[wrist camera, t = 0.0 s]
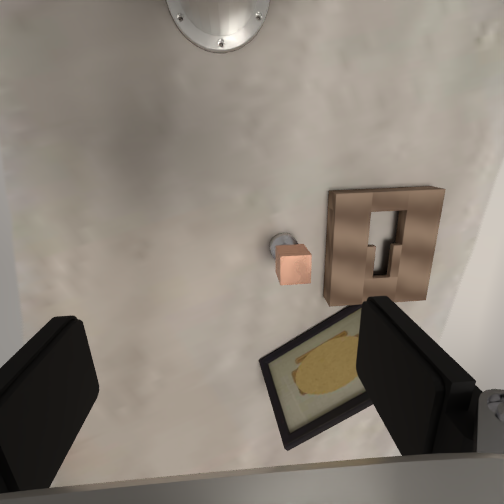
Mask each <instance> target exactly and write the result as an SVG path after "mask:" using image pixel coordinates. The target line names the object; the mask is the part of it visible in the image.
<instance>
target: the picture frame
mask: <svg viewBox="0 0 504 504" xmlns="http://www.w3.org/2000/svg"><path fill="white" fill-rule="evenodd" d="M361 308H362V304H359V305H351V306H349V307H347V308H346V309H344V310H342V311H341V312H339V313H337V314H336V315H334V316H332V317H331V318H329V319H327V320H326V321H324V322H322V323H321V324H319V325H318V326H316V327H314V328H313V329H311V330H309V331H308V332H306V333H304V334H303V335H301V336H299V337H298V338H296V339H294V340H293V341H291V342H289V343H288V344H286V345H284V346H283V347H281V348H279V349H278V350H276V351H274V352H273V353H271V354H269V355H268V356H266V357H264V358H263V359H261V360H259V363H260V366H261V370H262V373H263V376H264V380H265V383H266V387H267V390H268V394H269V397H270V400H271V404H272V407H273V411H274V414H275V418H276V421H277V424H278V428H279V431H280V435H281V438H282V441H283V445H284V448H285V449H286V450H287V451H288V450H290V449H292V448H294V447H296V446H298V445H299V444H301V443H303V442H305V441H307V440H309V439H310V438H312V437H314V436H316V435H318V434H320V433H321V432H323V431H325V430H327V429H329V428H331V427H332V426H334V425H336V424H338V423H340V422H342V421H343V420H345V419H347V418H349V417H351V416H353V415H354V414H356V413H358V412H360V411H362V410H364V409H365V408H367V407H369V406H371V405H373V402H372V401H371V399H370V397H369V395H368V393H367V392H366V390H365V388H364V386H363V384H362V383H361V381H360V379H359V377H358V375H357V371H356V358H357V348H358V338H359V328H360V318H361Z"/></svg>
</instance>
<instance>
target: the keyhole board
mask: <svg viewBox="0 0 504 504" xmlns="http://www.w3.org/2000/svg"><path fill="white" fill-rule="evenodd" d="M444 195H445V189H442V188H437V187H432V186H421V187H399V188H376V189H354V190H332V191H329V195H328V215H327V235H326V255H325V274H324V294H323V296H324V298H325V300H326V301H327V303H328V304H329V306H344V305H359V304H362V303H363V302H364V301H367V298H368V297H371V296H387V297H389V298H390V299H391V300H392V301H393V302H405V301H420V300H426V295H427V290H428V284H429V279H430V273H431V267H432V262H433V256H434V251H435V245H436V239H437V234H438V228H439V223H440V217H441V212H442V206H443V200H444ZM378 211H399V215H398V222H397V230H396V238H395V243H392V244H390V252H389V260H388V268H387V275H377V276H373V269H374V260H375V251H376V246H374V245H368V238H369V228H370V218H371V212H378Z"/></svg>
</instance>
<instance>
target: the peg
mask: <svg viewBox="0 0 504 504" xmlns="http://www.w3.org/2000/svg"><path fill="white" fill-rule="evenodd" d="M269 247H270V251H271V254H272V256H273V258H274V259H275V260H276V274H277V277H278V280H279V282H280V285H292V284H308V283H311V258H312V255H311V253H310V252H309V251H308V249H307V248H306V247H305V245H304V244H298V243H297V241H296V240H295V238H294V237H293V236H292V235H290V234H288V233H279V234H277V235H275V236H274V237H273V238H272V240H271V242H270V246H269Z"/></svg>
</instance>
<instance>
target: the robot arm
mask: <svg viewBox="0 0 504 504" xmlns="http://www.w3.org/2000/svg"><path fill="white" fill-rule="evenodd" d="M166 1H167V5H168V7H169V10H170V13H171V15H172V17H173V20H174V22H175V23H176V25H177V26H178V28H179V29H180V31H181V32H182V33H183V34H184V35H185V36H186V38H187V39H188V40H190V41H191V42H192V43H194V44H195V45H196V46H198V47H200V48H202V49H204V50H207V51H211V52H216V53H226V52H231V51H235V50H237V49H239V48H242V47H243V46H245V45H246V44H247V43H249V42H250V41H251V40H252V39H253V38H254V37H255V36H256V35H257V33H258V31H259V30H260V28H261V27H262V25H263V23H264V20H265V18H266V15H267V11H268V8H269V2H270V0H166ZM257 17H259V18H260V20H259V21H258V20H256V18H257ZM180 18H182V19H183V21H181V22H180V21H179V19H180ZM221 43H222V44H223V47H220V46H219V45H220V44H221ZM356 371H357V375H358V377H359V379H360V381H361V383H362V384H363V386H364V388H365V390H366V392H367V393H368V395H369V397H370V399H371V401H372V402H373V404H374V406H375V408H376V410H377V412H378V413H379V415H380V417H381V419H382V421H383V422H384V424H385V426H386V428H387V430H388V431H389V433H390V435H391V437H392V439H393V440H394V442H395V444H396V446H397V448H398V449H399V451H400V453H401V455H402V456H393V457H379V458H367V459H355V460H344V461H332V462H321V463H309V464H297V465H286V466H274V467H264V468H253V469H242V470H231V471H220V472H209V473H199V474H188V475H177V476H167V477H156V478H145V479H135V480H125V481H115V482H105V483H95V484H85V485H75V486H65V487H55V488H49V487H50V485H51V483H52V481H53V480H54V478H55V476H56V474H57V472H58V470H59V468H60V466H61V465H62V463H63V461H64V459H65V457H66V455H67V453H68V451H69V449H70V448H71V446H72V444H73V442H74V440H75V438H76V436H77V434H78V433H79V431H80V429H81V427H82V425H83V423H84V421H85V419H86V417H87V416H88V414H89V412H90V410H91V408H92V406H93V404H94V402H95V401H96V399H97V396H98V393H99V383H98V379H97V375H96V371H95V367H94V364H93V360H92V356H91V352H90V348H89V344H88V340H87V336H86V333H85V329H84V325H83V322H82V321H81V320H78V319H77V318H76V317H75V316H59V317H54V318H52V319H51V320H50V321H49V322H48V323H47V324H46V325H45V326H44V327H43V328H42V329H41V330H40V331H38V332H37V333H36V334H35V335H34V336H33V337H32V338H31V339H30V340H29V341H28V342H27V343H26V344H25V345H24V346H23V347H22V348H21V349H20V350H19V351H18V352H17V353H16V354H15V355H14V356H13V357H11V358H10V359H9V361H7V362H6V363H5V364H4V365H3V366H2V367H1V368H0V504H504V390H501V389H491V390H486V391H484V392H482V391H481V390H480V389H479V388H478V387H477V386H476V385H475V383H476V381H475V379H473V378H472V377H471V376H470V375H469V374H468V373H467V372H466V371H465V370H464V369H463V368H462V367H461V366H460V365H459V364H458V363H457V362H456V361H455V360H454V359H453V358H452V357H450V356H449V355H448V354H447V353H446V352H445V351H444V350H443V349H442V348H441V347H440V346H439V345H438V344H437V343H436V342H435V341H434V340H433V339H432V338H431V337H430V336H428V335H427V334H426V333H425V332H424V331H423V330H422V329H421V328H420V327H419V326H418V325H417V324H416V323H415V322H414V321H413V320H412V319H411V318H410V317H409V316H408V315H407V314H405V313H404V312H403V311H402V310H401V309H400V308H399V307H398V306H397V305H396V304H395V303H394V302H393V301H392V300H391V299H390V298H389V297H387V296H371V297H368V298H367V301H364V302H363V303H362V308H361V318H360V328H359V338H358V348H357V358H356Z"/></svg>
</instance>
